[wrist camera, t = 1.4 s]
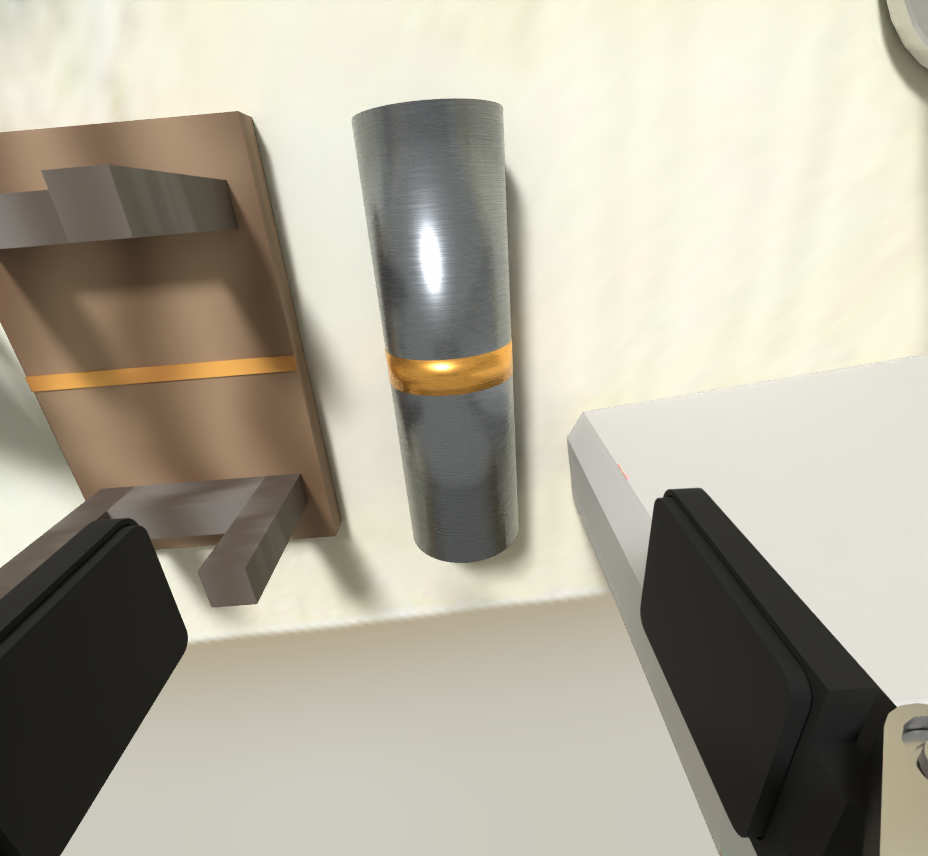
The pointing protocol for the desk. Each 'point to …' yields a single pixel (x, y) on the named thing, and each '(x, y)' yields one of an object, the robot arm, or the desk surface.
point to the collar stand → (163, 341)
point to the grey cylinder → (445, 314)
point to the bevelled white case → (779, 513)
